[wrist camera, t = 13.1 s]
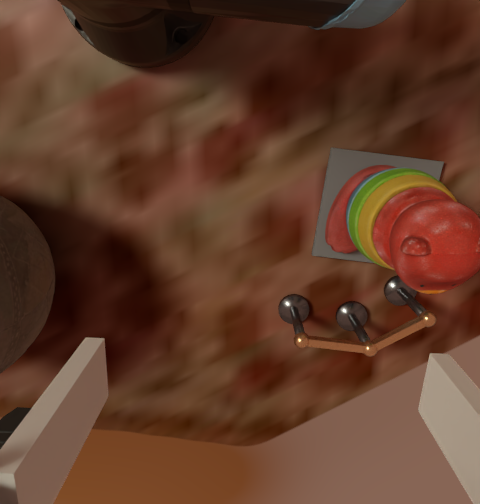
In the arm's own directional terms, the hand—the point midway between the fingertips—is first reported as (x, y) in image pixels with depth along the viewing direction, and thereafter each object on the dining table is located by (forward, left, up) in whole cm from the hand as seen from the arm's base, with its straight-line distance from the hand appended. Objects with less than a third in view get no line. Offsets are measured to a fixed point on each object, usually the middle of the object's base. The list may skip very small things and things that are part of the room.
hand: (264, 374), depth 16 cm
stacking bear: (-3, +13, -30) cm, 33 cm away
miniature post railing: (+8, +12, -31) cm, 34 cm away
